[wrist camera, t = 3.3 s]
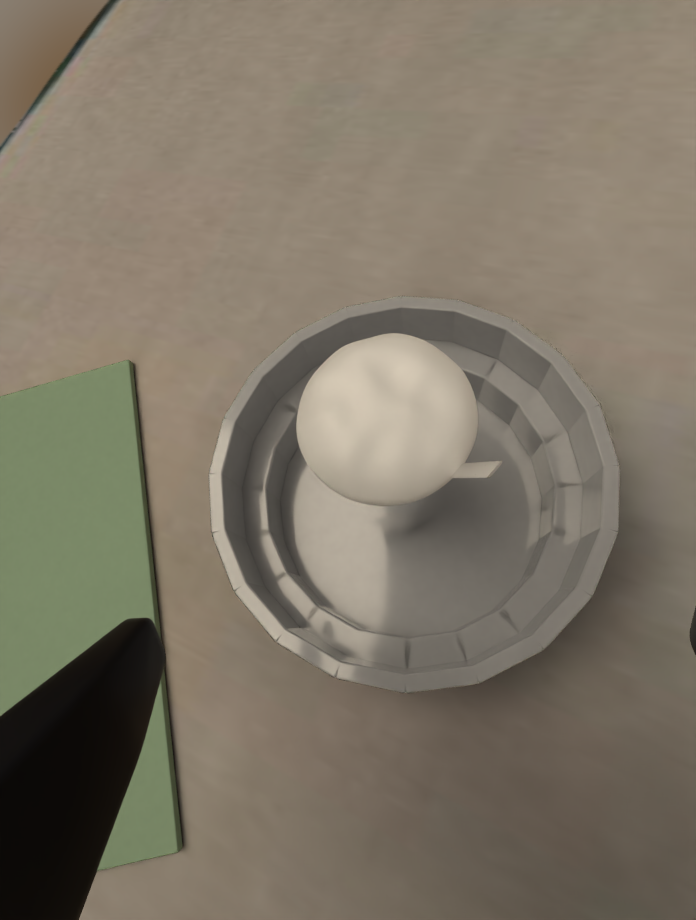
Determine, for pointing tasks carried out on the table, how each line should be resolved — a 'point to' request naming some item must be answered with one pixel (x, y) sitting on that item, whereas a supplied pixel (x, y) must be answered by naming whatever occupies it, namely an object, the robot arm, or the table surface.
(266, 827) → the table surface
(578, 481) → the bowl
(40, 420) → the mat
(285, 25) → the table surface
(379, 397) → the milkshake
